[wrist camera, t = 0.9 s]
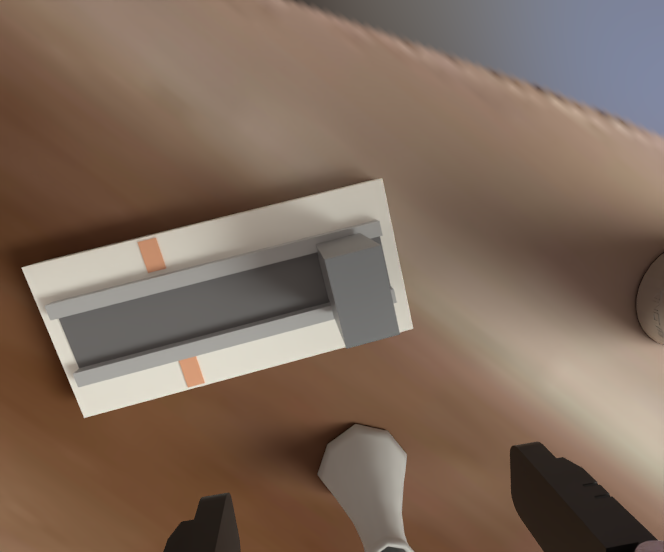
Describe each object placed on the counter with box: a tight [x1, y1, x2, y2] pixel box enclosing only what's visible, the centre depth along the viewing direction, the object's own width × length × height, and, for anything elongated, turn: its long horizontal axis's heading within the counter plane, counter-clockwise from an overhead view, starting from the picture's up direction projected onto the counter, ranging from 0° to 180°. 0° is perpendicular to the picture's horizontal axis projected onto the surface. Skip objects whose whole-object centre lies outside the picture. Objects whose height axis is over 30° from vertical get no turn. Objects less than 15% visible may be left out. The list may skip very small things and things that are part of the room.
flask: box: [317, 424, 414, 552], centre depth 31 cm, size 7×7×10 cm
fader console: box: [22, 178, 413, 418], centre depth 29 cm, size 24×11×4 cm, turn 104°
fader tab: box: [316, 233, 400, 349], centre depth 25 cm, size 3×5×7 cm, turn 14°
